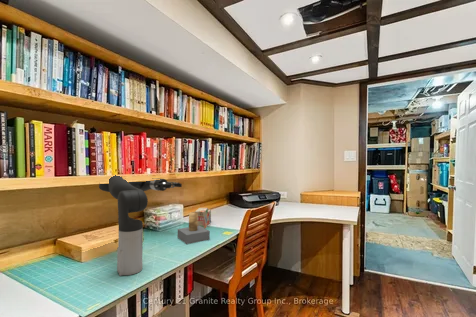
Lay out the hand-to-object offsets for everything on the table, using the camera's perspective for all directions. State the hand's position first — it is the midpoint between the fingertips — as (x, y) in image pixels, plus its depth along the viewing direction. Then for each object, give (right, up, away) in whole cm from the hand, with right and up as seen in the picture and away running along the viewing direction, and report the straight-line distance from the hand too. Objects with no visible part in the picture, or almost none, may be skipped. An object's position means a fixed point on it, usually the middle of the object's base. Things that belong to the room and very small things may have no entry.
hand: (175, 185), depth 146 cm
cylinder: (+11, -26, -2) cm, 28 cm away
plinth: (+11, -31, -2) cm, 33 cm away
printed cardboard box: (+13, -31, +26) cm, 43 cm away
